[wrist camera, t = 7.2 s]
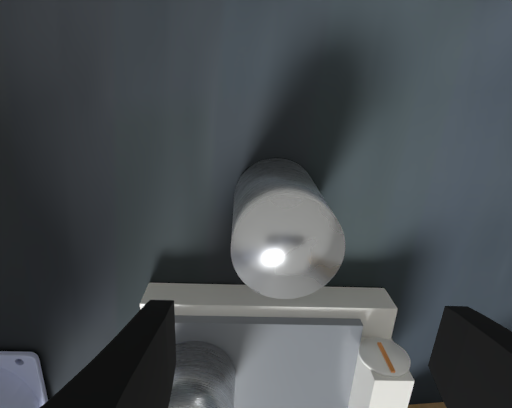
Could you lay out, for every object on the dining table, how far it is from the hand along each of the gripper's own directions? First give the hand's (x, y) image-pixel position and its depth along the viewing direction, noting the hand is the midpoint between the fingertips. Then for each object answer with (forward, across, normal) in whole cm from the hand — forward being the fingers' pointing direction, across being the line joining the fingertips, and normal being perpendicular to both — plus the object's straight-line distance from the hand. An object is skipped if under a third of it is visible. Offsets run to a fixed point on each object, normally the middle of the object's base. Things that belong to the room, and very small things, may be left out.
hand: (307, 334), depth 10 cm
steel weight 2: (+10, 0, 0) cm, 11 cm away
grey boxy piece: (+10, 0, +10) cm, 14 cm away
